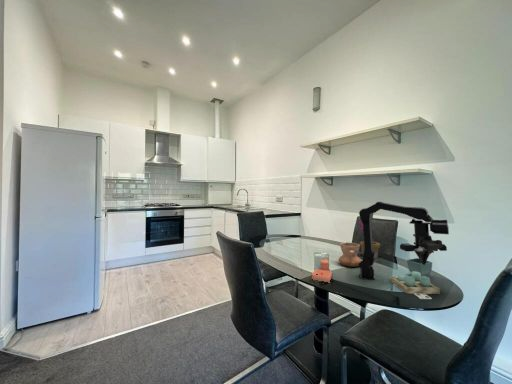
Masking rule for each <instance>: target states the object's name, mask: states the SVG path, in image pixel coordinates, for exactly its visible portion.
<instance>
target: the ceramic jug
mask: <svg viewBox="0 0 512 384" xmlns="http://www.w3.org/2000/svg"><path fill="white" fill-rule="evenodd" d="M339 245H340V250H341V253H342V255H341V256H339V257H338V263H339V264H341V265H343V266H345V267H351V268H354V267H356V268H357V267H359V265H358V264H359V263H360V262H361V261H363V259H361V258H360V257H359V256H357V255H358V254H359V253H358V252H359V250H360V247H361V246H360V245H359V243H354V242H349V241H347V242H341V243H340V244H339Z"/></svg>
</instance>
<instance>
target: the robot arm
mask: <svg viewBox="0 0 512 384" xmlns="http://www.w3.org/2000/svg"><path fill="white" fill-rule="evenodd" d="M380 210H383V211H388V212H392V213H393V212H394V213H399V214H403V215H406V216H408V217H410V218H412V220H410V221H409V222H408V223H409V225H411V224H412V225H413V227H414V228H413V229H414V233H413V234H412V236H413V237H414V242H413V244H411V243H400V245H399V249H400V250H401V251H405V252H414V253H415V254H416V256H417V258H419V259H420V261H421V263H422V264H423V265H425V264H426V261H428V258H429V256H430V255H431V254H432V253H433V254H434V253H435V252H438V250H439V251H440V252H443V251H444V252H445V251H448V249H447V246H446V245H445V244H444V243H443V240H441V239H436V240H435V239H434V240H433V239H432V236H431V235H430V232H432V233H433V234H434V235H435V234H436V235H449V234H450V230H449V225H448V224H449V222H448V219H434V218H433V217H432V216H431V215H430V214H429V211H428V210H427V209H426V208H425V207H422V206H420V207H419V206H403V205H397V204H395V203H394V204H392V203H388V202H383V201H376V202H375V203H374V204H372V205H370V206H369V207H365V208H362V209H360V211H359V213H358V215H359V218H360V222H362V223H363V225H362V226H363V230H362V232H363V241H364V247H365V249H364V253H363V255H362V261H361V262H360V263H359V264H358V265H359V266H358V267H359V274H358V276H359V277H360V278H361V279H362V280H375V279H376V278H375V269H374V267H373V266H374V264H375V263H376V262H377V261H378V259H379V256H378V257H377V252H375V251H374V249H373V242H374V240H373V231H372V230H373V228H372V222H373V218H374V214H376V213H377V212H378V211H380Z"/></svg>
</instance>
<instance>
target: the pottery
mask: <svg viewBox="0 0 512 384" xmlns="http://www.w3.org/2000/svg"><path fill="white" fill-rule="evenodd" d="M329 262H330V261H329V260H328V259H327V258H326V257H323V258H322V259H320V268H319V269H314V270H313V272H312V273H311V280H312V279H313V280H318V281H324V282H328V283H330V284H331V282H330V280H331V278H332V279H333V273H332V271H331V269H330V264H329ZM316 274H318V275H316ZM331 281H332V280H331Z"/></svg>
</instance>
